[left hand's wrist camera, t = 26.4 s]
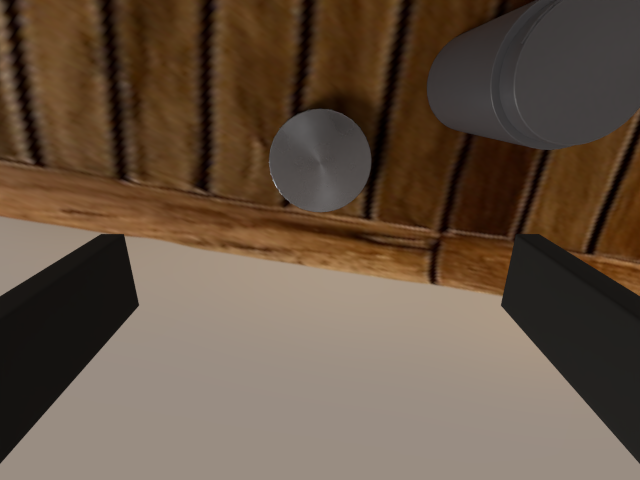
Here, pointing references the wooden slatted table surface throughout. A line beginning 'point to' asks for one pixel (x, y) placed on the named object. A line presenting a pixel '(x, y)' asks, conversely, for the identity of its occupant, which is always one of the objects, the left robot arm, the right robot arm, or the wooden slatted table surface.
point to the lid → (320, 160)
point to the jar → (542, 74)
